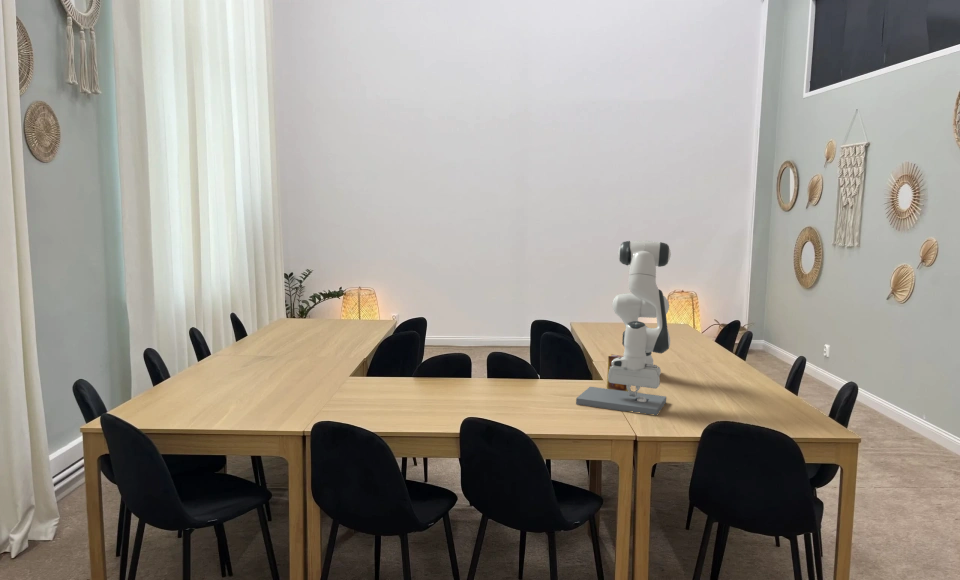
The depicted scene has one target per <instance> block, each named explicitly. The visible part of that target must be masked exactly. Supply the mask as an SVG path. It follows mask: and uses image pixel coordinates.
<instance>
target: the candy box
mask: <svg viewBox="0 0 960 580" xmlns="http://www.w3.org/2000/svg"><path fill="white" fill-rule="evenodd" d="M619 357H623V355H621V354H620V355H618V354H612V353H611V354H609V355H608V356H607V375H606V378H607V379H606V389H612V390H620V391H628V390H627V388H626V386H627V385H623V384H615V383H610V382H609V381H608V374H609V369H610V368H611V367H612V364H611V362H612V361H613V360H614V359H615V358H619ZM628 392H629V391H628Z"/></svg>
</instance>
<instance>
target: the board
mask: <svg viewBox="0 0 960 580" xmlns="http://www.w3.org/2000/svg"><path fill="white" fill-rule="evenodd" d="M640 396H643V397H645V398H646V400H647V402H639V401H637V398H638V397H640ZM666 403H667V396H666V395H658V394H657V395H656V394H651V393H650V394H649V393H641V392H637V397H633V396H629V391H620V390H612V389H607V388H606V387H605V388H603V387H596V386H589V387H588V388H587V389H585V390H584V391H582V393H581V394H580V395H578V396H577V397H576V399H575V405H578V406H584V405H585V406H586V407H591V406H592V408H598V407H599V409H600V408H601V409H607V410H613V411H620V412H626V411H633V412H640V413H646V414H645V415H647V414H654V415H657V414H658V413H659V414H660V412H661V411H662V409H663V408H664V407H665V405H666ZM664 404H665V405H664ZM662 407H663V408H662ZM660 410H661V411H660ZM659 411H660V412H659ZM633 412H632V413H633ZM640 413H639V414H640ZM659 414H658V415H659ZM654 415H653V416H654ZM658 415H657V416H658Z"/></svg>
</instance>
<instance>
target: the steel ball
mask: <svg viewBox="0 0 960 580" xmlns="http://www.w3.org/2000/svg"><path fill="white" fill-rule="evenodd" d="M637 401H639V402H647V400H646V398H645V397H643V396H640V397H638V398H637Z"/></svg>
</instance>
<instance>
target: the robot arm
mask: <svg viewBox="0 0 960 580" xmlns="http://www.w3.org/2000/svg"><path fill="white" fill-rule="evenodd" d="M671 255H672V253H671V248H670V246H669V244H668V243H665V242H658V241H657V242H656V241H652V240H651V241H650V240H643V241H642V240H636V241H635V240H634V241H630V240H625V241H622V242H621V243H620V245H619V247H618V250H617V257H618V259H619V263H621V264H623V265H624V266H627V267H628V266H629V271H628V272H629V273H628V290H629V291H630V292H629V293H620V294H616V295H615V296H614V298H613V300H612V304H611V305H612V306H611V307H612V311H613V312H614V314H616V316H618V317H619V318H620V320H622V322H623V324H624V326H625V330H624V331H623V333H622V343H621V344H622V345H623V347H624V350H623V351H624V352H623V355H622V356H623V357H619V358H615V359H614V360H613V361H612V362H611V364H612V367H611V368H610V369H609V374H608V373H607V375H608V381H609V382H610V383H615V384H623V385H627V386H626V388H627V390H628V392H629V396H633V397H637V393H639V391H640V389H641V388H649V389H658V388H659V387H660V382H661V381H660V376H661V374H662V373H661V371H662V370H661V367H660V366H659V365H657V364H654V358H653V356H652V353H655V354H663V353H665V352H667V351H668V350H669V348H670V346H671V336H670V333H669V329H668V320H667V313H668V312H669V310H670V303H669V299H667V297H666V296H665V295H664V293H663V291H662V290H661V289H659V287H658V286H657V285H658V284H657V279H656V278H657V268H656V267H658V268H659V267H666V266H667V265H668V264H669V261H670V260H671V257H672V256H671ZM639 318H649V319H650V318H651V319H652V318H653V319H655V318H656V325H657V327H655V328H653V327H648V326H647V325H646V323H644V322H642V321H639ZM631 387H635V391H634V390H632V389H631Z"/></svg>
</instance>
